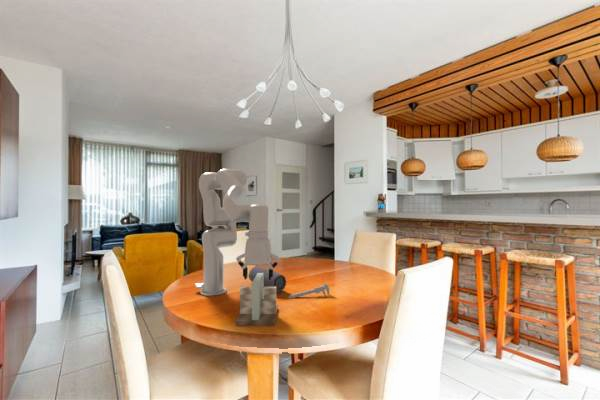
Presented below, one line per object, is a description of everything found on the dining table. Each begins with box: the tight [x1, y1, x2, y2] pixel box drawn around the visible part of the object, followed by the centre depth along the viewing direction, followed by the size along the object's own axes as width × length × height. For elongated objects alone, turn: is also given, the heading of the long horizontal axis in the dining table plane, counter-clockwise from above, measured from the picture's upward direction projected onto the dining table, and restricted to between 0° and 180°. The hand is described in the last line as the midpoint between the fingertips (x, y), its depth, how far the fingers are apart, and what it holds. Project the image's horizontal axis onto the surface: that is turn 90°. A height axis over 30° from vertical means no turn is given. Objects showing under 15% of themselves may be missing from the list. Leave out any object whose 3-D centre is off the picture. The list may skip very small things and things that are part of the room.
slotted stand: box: [235, 285, 278, 326], centre depth 111 cm, size 14×16×12 cm
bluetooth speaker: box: [248, 266, 287, 292], centre depth 147 cm, size 23×9×10 cm, turn 42°
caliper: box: [287, 282, 330, 299], centre depth 135 cm, size 20×1×6 cm, turn 103°
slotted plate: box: [251, 273, 264, 320], centre depth 111 cm, size 14×2×14 cm, turn 0°
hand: (257, 278), depth 111 cm, fingers open, 9 cm apart
